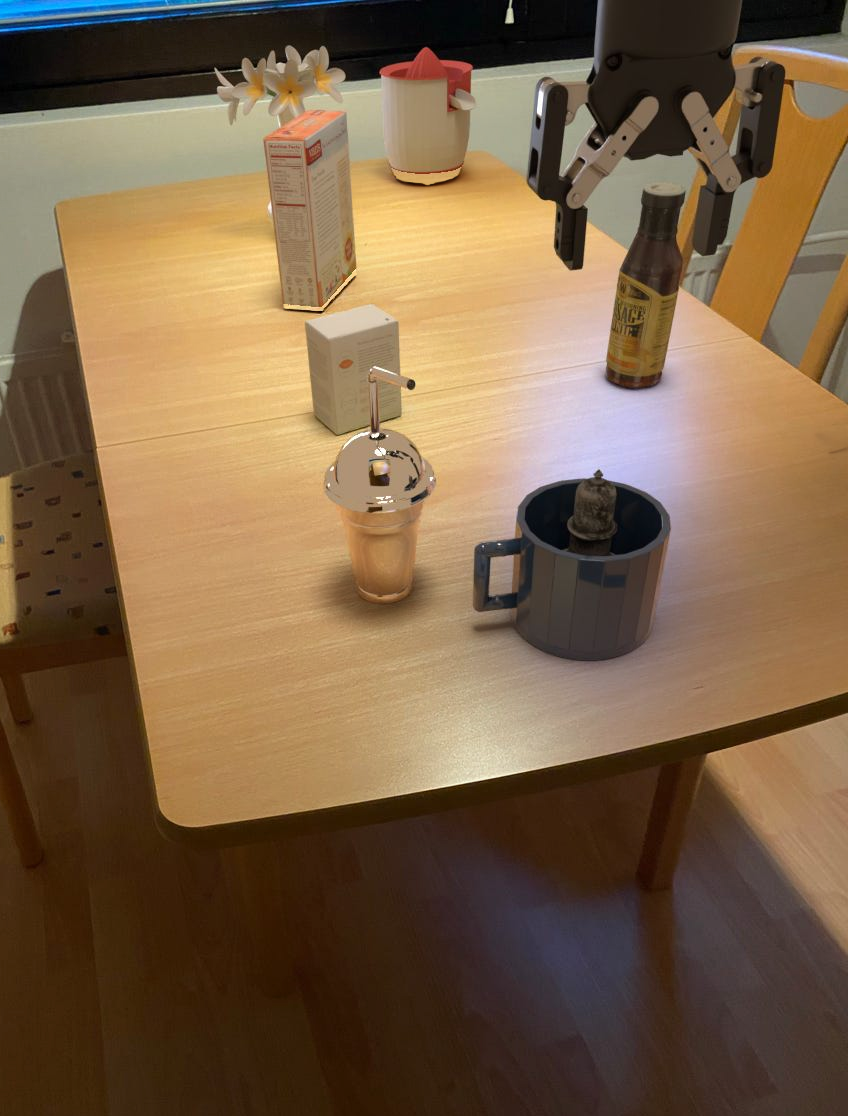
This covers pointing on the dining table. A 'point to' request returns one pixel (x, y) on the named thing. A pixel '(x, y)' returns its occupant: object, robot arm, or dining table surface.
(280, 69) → the flower vase
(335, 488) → the cup with straw
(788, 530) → the dining table surface
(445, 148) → the citrus juicer
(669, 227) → the sauce bottle
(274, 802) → the dining table surface
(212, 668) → the dining table surface
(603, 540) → the salt shaker
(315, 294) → the cracker box
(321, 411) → the small box
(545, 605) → the mug
